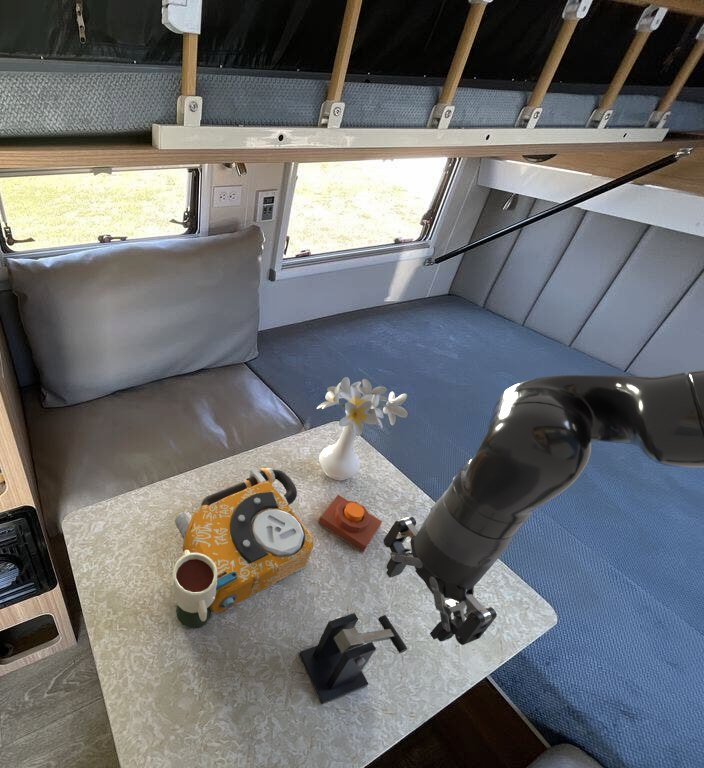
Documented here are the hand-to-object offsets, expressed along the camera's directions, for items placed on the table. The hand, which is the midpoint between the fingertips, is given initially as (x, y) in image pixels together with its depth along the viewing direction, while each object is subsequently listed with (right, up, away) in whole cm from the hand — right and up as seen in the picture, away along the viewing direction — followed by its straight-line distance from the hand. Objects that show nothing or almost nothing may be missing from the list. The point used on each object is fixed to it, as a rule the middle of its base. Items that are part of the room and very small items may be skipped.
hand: (413, 602), depth 56 cm
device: (-20, -2, +27) cm, 33 cm away
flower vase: (+5, +9, +42) cm, 44 cm away
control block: (+3, 0, +30) cm, 30 cm away
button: (+3, +3, +28) cm, 28 cm away
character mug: (-31, -10, +15) cm, 36 cm away
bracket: (-9, -15, +8) cm, 19 cm away
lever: (-5, -8, +4) cm, 10 cm away
